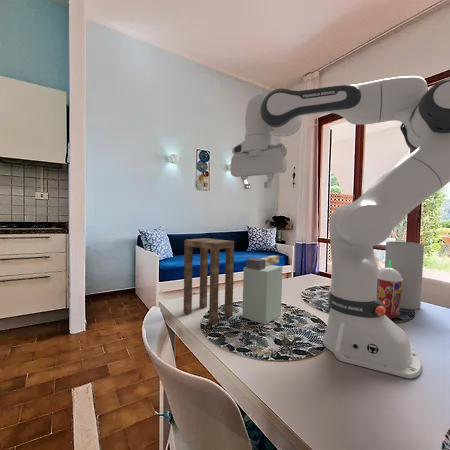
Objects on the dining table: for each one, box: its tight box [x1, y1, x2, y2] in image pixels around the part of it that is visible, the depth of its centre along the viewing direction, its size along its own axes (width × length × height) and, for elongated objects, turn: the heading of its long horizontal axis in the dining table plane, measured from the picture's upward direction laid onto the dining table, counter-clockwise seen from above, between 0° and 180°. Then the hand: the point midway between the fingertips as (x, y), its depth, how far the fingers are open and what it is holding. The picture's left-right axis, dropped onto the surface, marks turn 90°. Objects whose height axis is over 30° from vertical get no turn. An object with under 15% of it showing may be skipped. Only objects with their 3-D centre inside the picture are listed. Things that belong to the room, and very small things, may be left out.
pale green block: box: [242, 264, 283, 326], centre depth 90 cm, size 9×11×17 cm
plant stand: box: [183, 237, 235, 326], centre depth 90 cm, size 14×10×26 cm
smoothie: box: [377, 260, 403, 319], centre depth 93 cm, size 8×8×20 cm
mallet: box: [245, 254, 280, 270], centre depth 92 cm, size 17×5×3 cm, turn 142°
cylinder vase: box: [384, 240, 425, 311], centre depth 104 cm, size 12×12×25 cm
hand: (256, 188), depth 87 cm, fingers open, 7 cm apart
